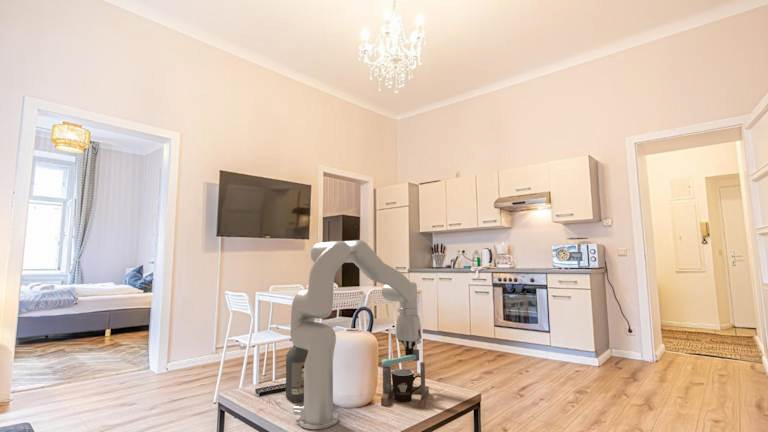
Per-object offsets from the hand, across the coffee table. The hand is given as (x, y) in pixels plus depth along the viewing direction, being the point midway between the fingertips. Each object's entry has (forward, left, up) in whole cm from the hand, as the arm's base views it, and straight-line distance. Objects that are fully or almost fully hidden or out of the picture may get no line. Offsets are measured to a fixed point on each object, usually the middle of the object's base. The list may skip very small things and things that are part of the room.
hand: (409, 357), depth 163 cm
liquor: (-40, -19, -12) cm, 46 cm away
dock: (+1, -13, -12) cm, 18 cm away
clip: (-2, -8, -1) cm, 8 cm away
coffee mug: (+1, -14, -12) cm, 19 cm away
